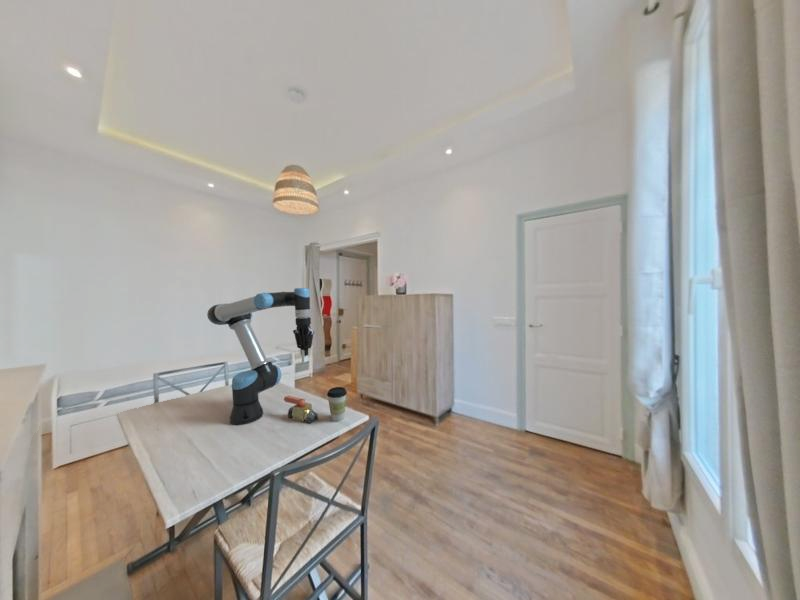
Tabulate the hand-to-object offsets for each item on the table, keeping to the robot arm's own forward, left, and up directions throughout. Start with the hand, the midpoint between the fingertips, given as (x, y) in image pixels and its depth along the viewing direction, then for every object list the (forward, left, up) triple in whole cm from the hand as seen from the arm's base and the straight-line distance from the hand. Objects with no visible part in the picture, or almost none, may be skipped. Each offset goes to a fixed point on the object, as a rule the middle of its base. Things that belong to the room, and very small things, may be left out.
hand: (304, 361), depth 144 cm
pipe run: (+2, -5, -28) cm, 29 cm away
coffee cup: (+19, +2, -29) cm, 34 cm away
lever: (-3, -5, -21) cm, 22 cm away
